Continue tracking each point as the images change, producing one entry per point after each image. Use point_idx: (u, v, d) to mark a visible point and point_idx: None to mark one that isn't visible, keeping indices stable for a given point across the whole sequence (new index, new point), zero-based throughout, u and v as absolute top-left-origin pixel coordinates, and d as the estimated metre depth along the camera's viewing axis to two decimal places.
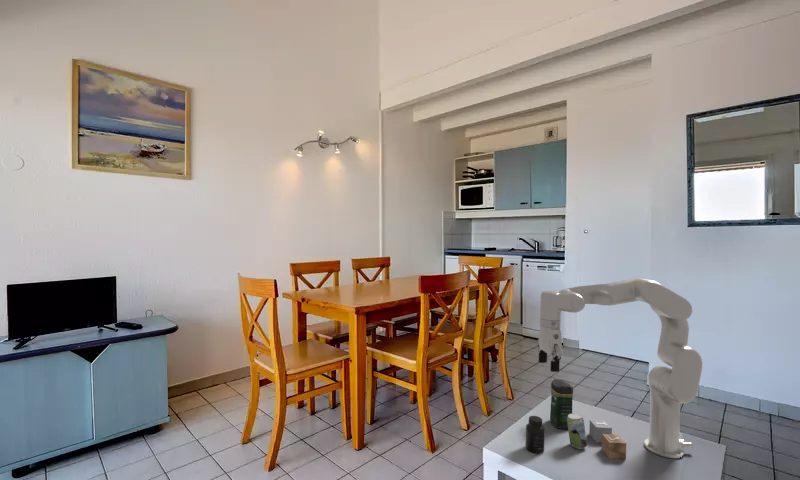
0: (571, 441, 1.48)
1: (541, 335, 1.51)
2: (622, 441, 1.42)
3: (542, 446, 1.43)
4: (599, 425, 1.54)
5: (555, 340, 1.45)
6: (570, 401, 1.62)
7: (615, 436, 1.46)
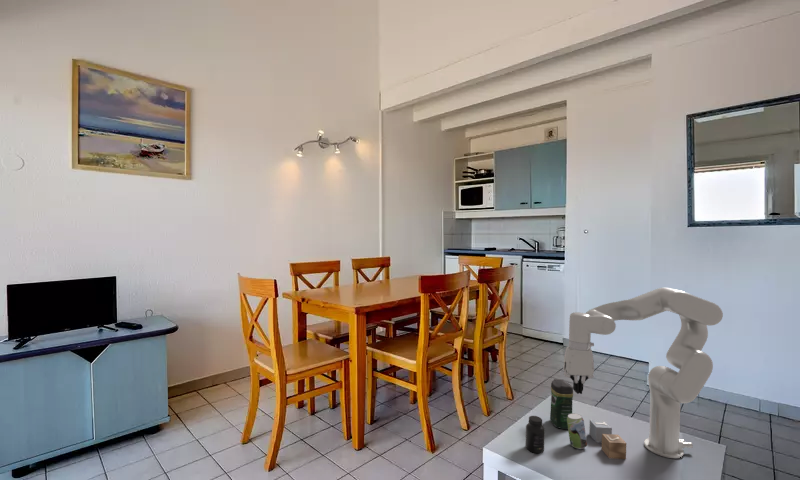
0: (571, 441, 1.48)
1: (576, 360, 1.46)
2: (622, 441, 1.42)
3: (542, 446, 1.43)
4: (599, 425, 1.54)
5: None
6: (570, 401, 1.62)
7: (615, 436, 1.46)
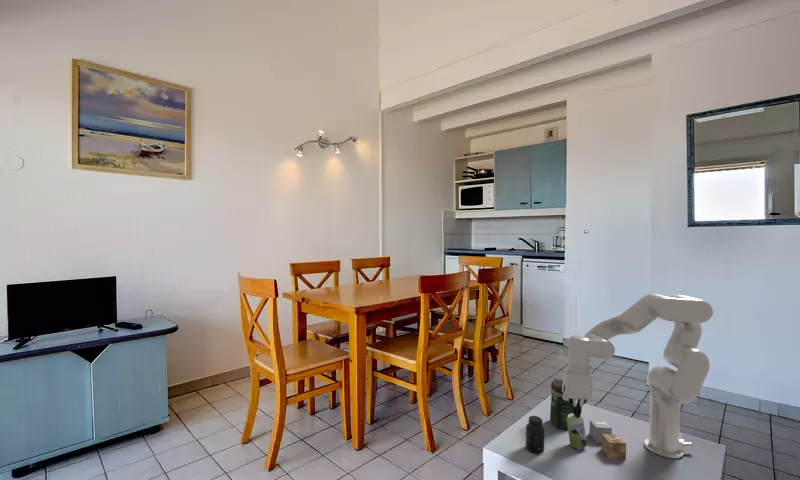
0: (571, 441, 1.48)
1: (575, 384, 1.46)
2: (622, 441, 1.42)
3: (542, 446, 1.43)
4: (599, 425, 1.54)
5: None
6: None
7: (615, 436, 1.46)
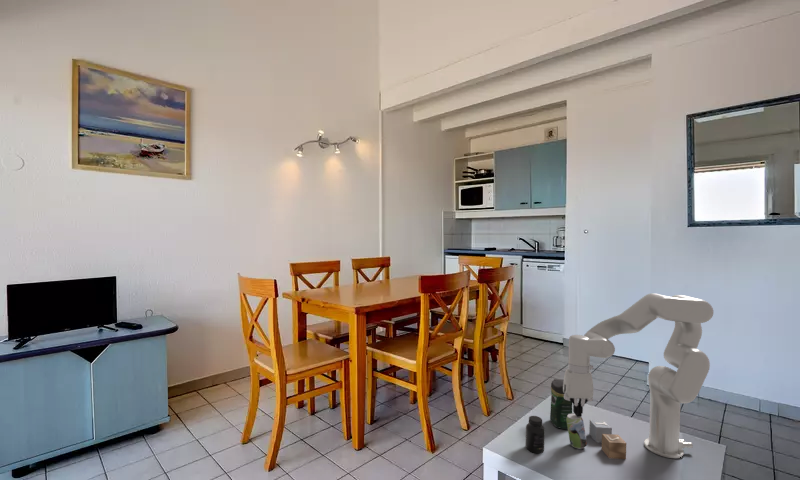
0: (571, 441, 1.48)
1: (576, 383, 1.46)
2: (622, 441, 1.42)
3: (542, 446, 1.43)
4: (599, 425, 1.54)
5: None
6: (570, 401, 1.62)
7: (615, 436, 1.46)
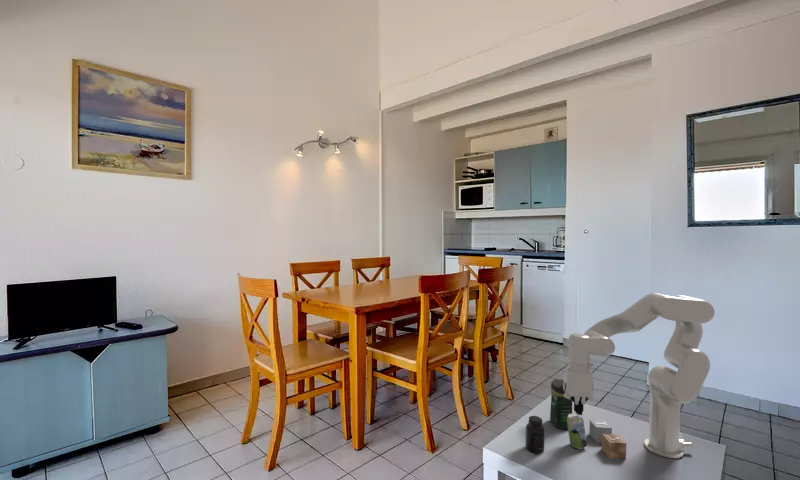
0: (571, 441, 1.48)
1: (576, 382, 1.46)
2: (622, 441, 1.42)
3: (542, 446, 1.43)
4: (599, 425, 1.54)
5: None
6: (570, 401, 1.62)
7: (615, 436, 1.46)
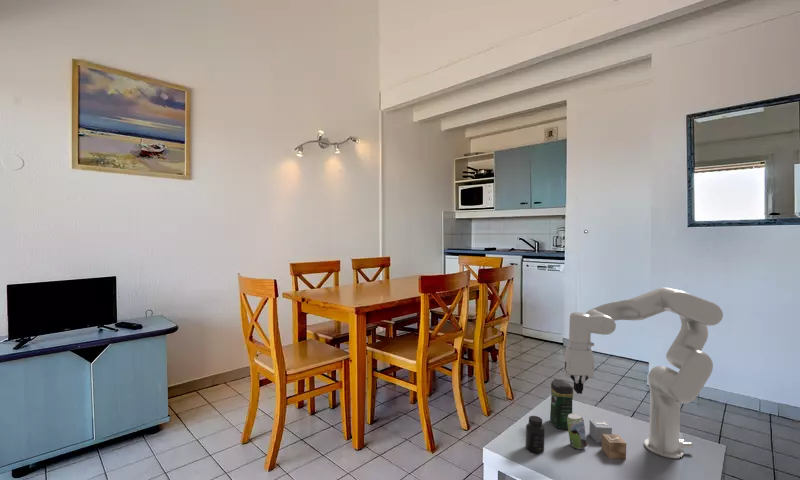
0: (571, 441, 1.48)
1: (576, 360, 1.46)
2: (622, 441, 1.42)
3: (542, 446, 1.43)
4: (599, 425, 1.54)
5: None
6: (570, 401, 1.62)
7: (615, 436, 1.46)
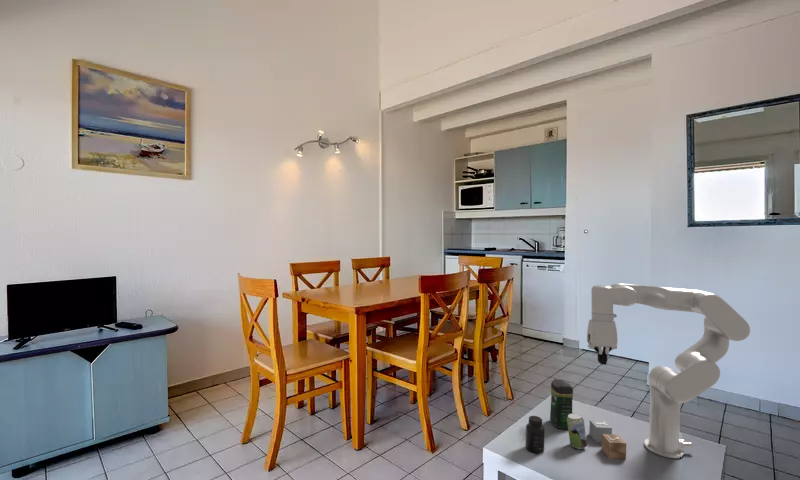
0: (571, 441, 1.48)
1: (600, 332, 1.49)
2: (622, 441, 1.42)
3: (542, 446, 1.43)
4: (599, 425, 1.54)
5: None
6: (570, 401, 1.62)
7: (615, 436, 1.46)
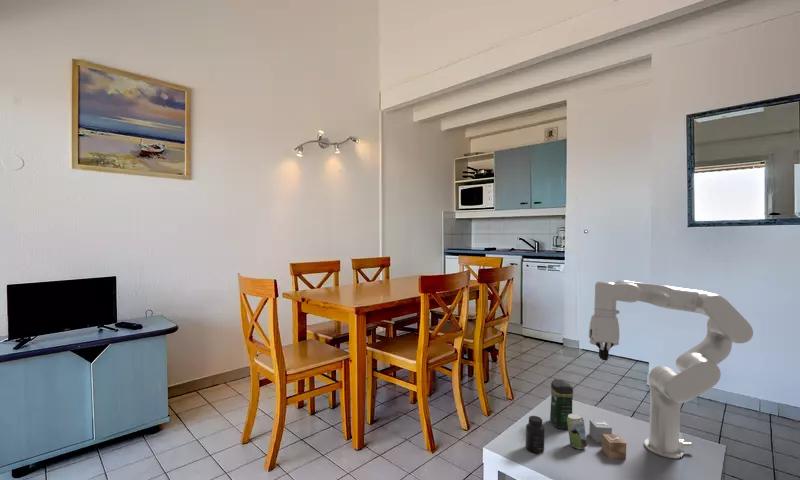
0: (571, 441, 1.48)
1: (602, 327, 1.49)
2: (622, 441, 1.42)
3: (542, 446, 1.43)
4: (599, 425, 1.54)
5: None
6: (570, 401, 1.62)
7: (615, 436, 1.46)
